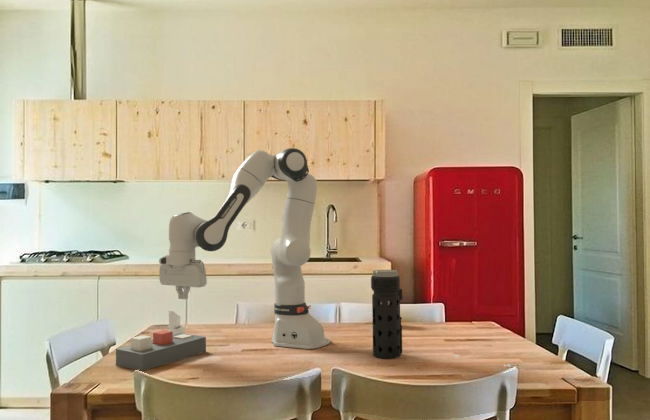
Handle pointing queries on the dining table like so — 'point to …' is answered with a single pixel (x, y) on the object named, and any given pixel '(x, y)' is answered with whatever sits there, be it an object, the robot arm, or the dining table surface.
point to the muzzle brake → (386, 314)
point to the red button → (162, 337)
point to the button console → (160, 353)
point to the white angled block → (175, 323)
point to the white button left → (141, 343)
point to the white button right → (182, 336)
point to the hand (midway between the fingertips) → (183, 299)
